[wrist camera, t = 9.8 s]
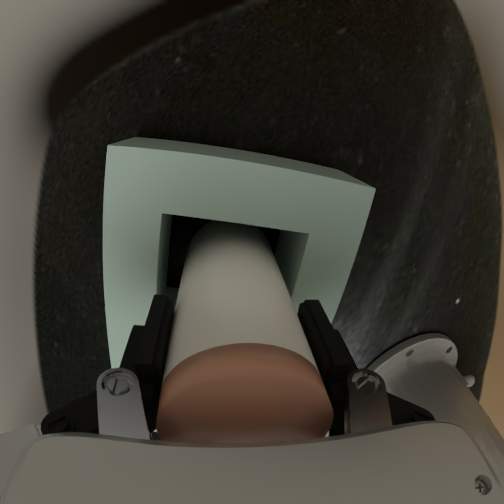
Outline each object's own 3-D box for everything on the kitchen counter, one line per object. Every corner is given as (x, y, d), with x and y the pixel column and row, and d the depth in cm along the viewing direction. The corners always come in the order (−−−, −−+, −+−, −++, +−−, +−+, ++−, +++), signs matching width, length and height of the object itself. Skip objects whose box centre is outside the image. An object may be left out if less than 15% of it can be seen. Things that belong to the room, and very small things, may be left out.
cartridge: (274, 218, 18) (353, 368, 7) (267, 294, 20) (313, 464, 9) (186, 216, 17) (142, 372, 6) (188, 293, 19) (168, 469, 8)
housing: (337, 169, 18) (375, 188, 14) (271, 392, 25) (280, 437, 21) (136, 137, 16) (107, 145, 12) (132, 379, 23) (121, 426, 19)
